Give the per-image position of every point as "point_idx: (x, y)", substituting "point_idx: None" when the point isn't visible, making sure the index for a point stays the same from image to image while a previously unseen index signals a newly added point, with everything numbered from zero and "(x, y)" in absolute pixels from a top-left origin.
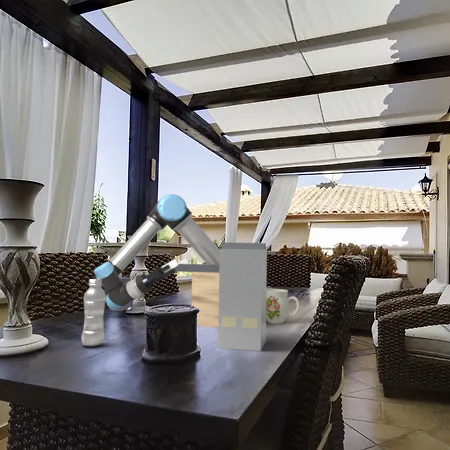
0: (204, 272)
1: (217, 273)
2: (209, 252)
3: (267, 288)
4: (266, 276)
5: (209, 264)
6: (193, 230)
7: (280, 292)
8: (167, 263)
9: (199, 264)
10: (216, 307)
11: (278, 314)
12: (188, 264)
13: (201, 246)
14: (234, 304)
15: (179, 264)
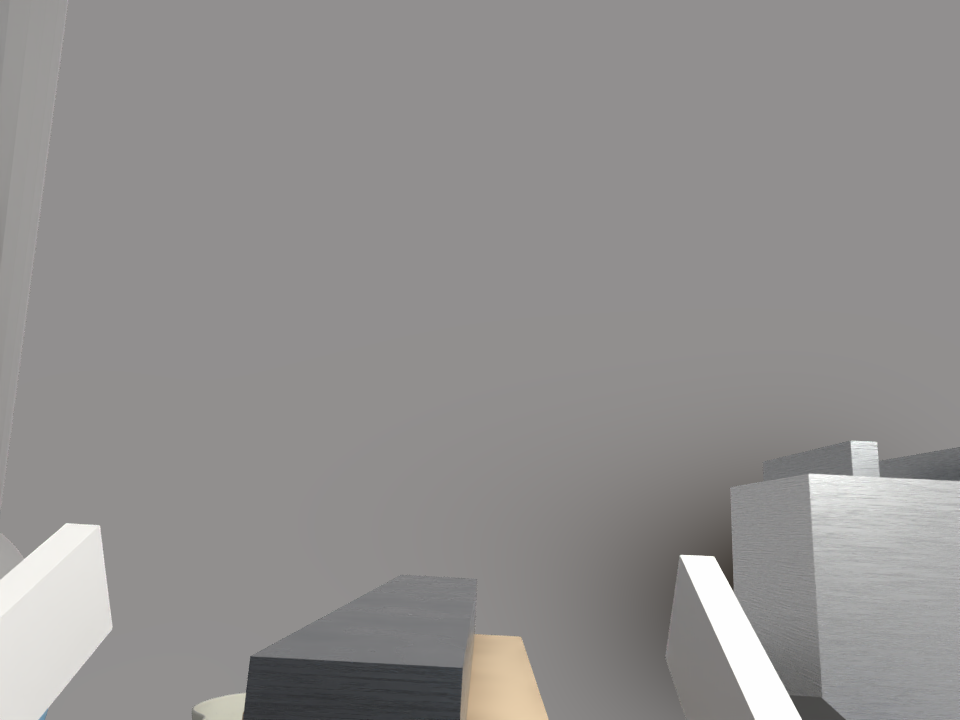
0: (488, 691)
1: (530, 666)
2: (5, 440)
3: (201, 715)
4: None
5: (379, 593)
6: (56, 87)
7: None
8: (777, 676)
9: (435, 607)
10: None
11: None
12: (468, 629)
13: (4, 346)
14: None
15: (465, 659)
